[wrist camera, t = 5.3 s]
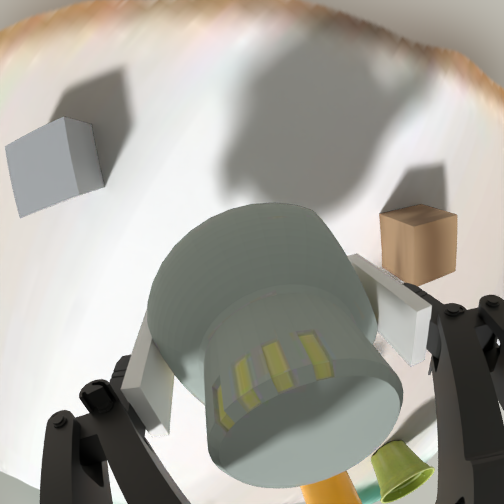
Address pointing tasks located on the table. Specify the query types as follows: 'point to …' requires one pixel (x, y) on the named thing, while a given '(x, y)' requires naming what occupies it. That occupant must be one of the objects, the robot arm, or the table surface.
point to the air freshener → (274, 345)
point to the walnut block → (418, 243)
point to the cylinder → (331, 491)
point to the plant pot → (399, 471)
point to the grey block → (53, 165)
